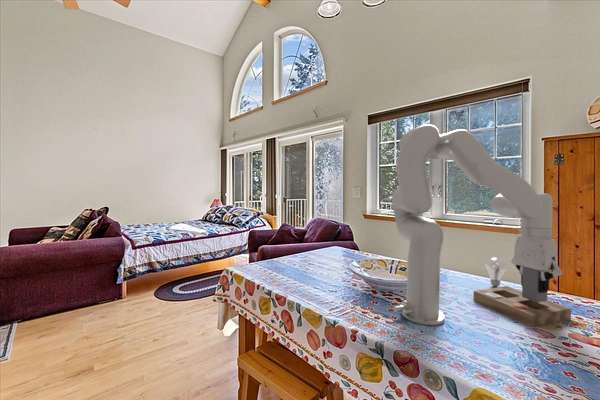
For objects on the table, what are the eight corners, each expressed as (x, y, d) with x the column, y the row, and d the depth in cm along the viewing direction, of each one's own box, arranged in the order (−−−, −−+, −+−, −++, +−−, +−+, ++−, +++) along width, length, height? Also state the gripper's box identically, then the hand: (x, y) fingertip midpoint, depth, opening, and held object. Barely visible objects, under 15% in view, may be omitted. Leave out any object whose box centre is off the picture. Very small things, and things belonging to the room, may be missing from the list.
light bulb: (509, 290, 110) (510, 260, 109) (489, 289, 111) (490, 259, 111) (500, 284, 117) (501, 256, 116) (482, 283, 118) (482, 255, 117)
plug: (536, 302, 86) (538, 254, 85) (522, 297, 90) (523, 251, 90) (547, 300, 87) (548, 253, 87) (532, 295, 92) (533, 250, 91)
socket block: (532, 327, 82) (533, 314, 81) (473, 300, 101) (473, 289, 101) (570, 319, 86) (571, 307, 86) (507, 295, 105) (507, 285, 105)
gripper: (500, 229, 95) (499, 281, 96) (558, 237, 79) (556, 301, 80) (517, 227, 97) (516, 279, 98) (576, 236, 81) (574, 297, 82)
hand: (534, 288), depth 89 cm, fingers closed on plug, 4 cm apart
